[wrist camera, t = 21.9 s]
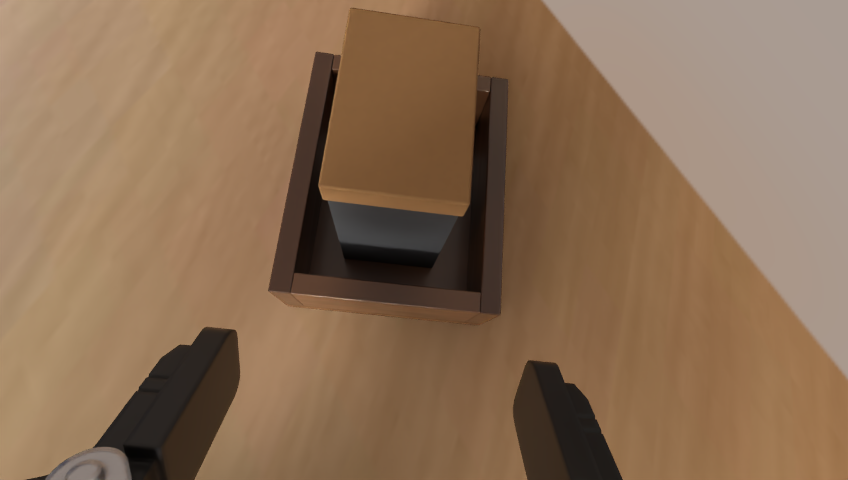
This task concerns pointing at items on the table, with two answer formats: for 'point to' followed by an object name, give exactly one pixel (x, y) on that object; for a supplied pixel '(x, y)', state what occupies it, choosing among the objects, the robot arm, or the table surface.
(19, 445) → the table surface
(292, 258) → the holder
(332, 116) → the eraser
